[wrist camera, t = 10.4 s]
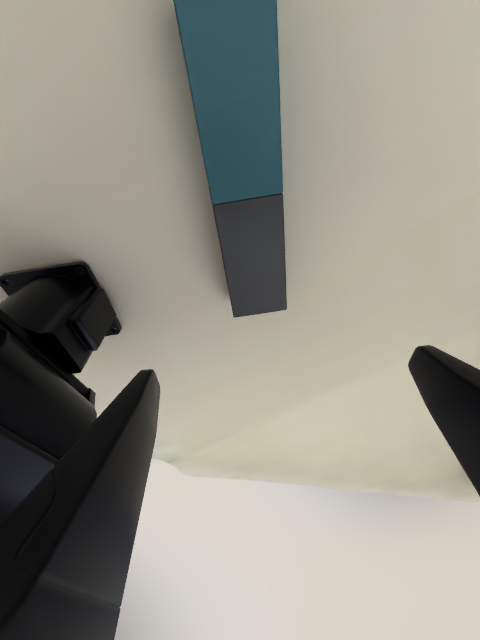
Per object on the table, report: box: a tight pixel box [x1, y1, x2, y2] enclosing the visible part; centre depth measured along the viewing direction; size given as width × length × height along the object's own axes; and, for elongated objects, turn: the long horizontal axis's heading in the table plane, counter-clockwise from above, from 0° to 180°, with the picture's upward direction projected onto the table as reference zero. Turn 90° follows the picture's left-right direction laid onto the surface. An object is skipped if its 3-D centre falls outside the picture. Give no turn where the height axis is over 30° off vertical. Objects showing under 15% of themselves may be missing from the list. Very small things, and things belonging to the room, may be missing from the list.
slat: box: [173, 0, 287, 317], centre depth 15 cm, size 16×4×2 cm, turn 8°
